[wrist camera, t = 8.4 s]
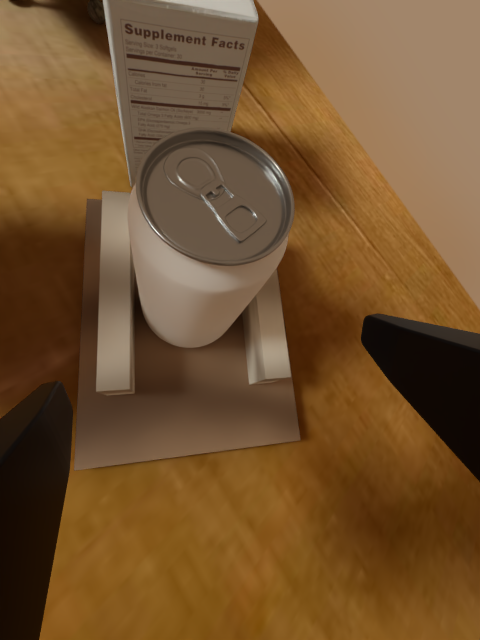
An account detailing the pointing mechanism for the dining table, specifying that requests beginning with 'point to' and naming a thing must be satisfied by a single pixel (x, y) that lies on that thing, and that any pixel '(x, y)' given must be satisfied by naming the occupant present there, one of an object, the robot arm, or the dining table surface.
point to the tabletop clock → (96, 11)
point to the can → (205, 231)
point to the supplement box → (177, 66)
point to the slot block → (171, 366)
